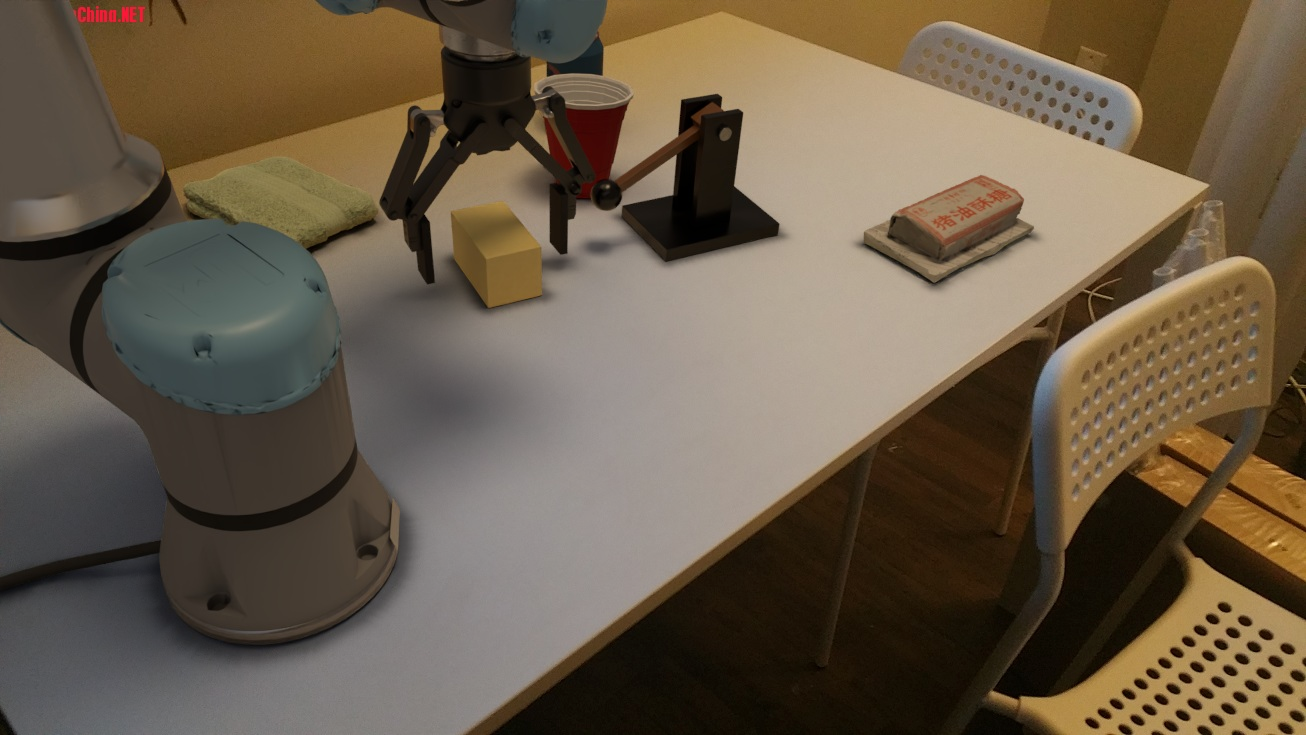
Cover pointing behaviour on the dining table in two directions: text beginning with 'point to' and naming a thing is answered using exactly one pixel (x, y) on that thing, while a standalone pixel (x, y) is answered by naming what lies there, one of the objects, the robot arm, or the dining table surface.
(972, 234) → the packaged product
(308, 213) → the washcloth
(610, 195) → the arm
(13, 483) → the dining table surface
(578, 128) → the plastic cup
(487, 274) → the butter
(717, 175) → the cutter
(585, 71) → the soda can
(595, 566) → the dining table surface
